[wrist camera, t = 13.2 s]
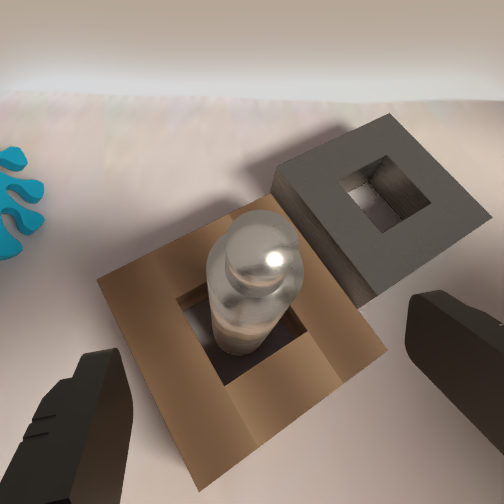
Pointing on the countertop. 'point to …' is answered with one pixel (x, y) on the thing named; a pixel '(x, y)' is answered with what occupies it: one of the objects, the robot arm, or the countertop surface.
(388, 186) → the socket block
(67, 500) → the robot arm
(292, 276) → the steel pin
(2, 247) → the blue pixel flower
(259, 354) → the countertop surface
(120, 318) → the rack block
